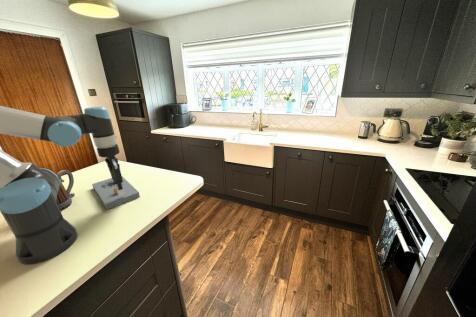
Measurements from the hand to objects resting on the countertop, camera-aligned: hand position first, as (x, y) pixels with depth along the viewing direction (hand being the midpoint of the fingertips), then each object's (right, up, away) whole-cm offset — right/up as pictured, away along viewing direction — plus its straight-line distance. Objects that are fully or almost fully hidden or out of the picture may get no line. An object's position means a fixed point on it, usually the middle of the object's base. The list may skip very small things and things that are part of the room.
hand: (121, 194), depth 90 cm
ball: (-4, +2, +4) cm, 6 cm away
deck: (-9, -1, +10) cm, 14 cm away
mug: (-28, -5, +2) cm, 29 cm away
